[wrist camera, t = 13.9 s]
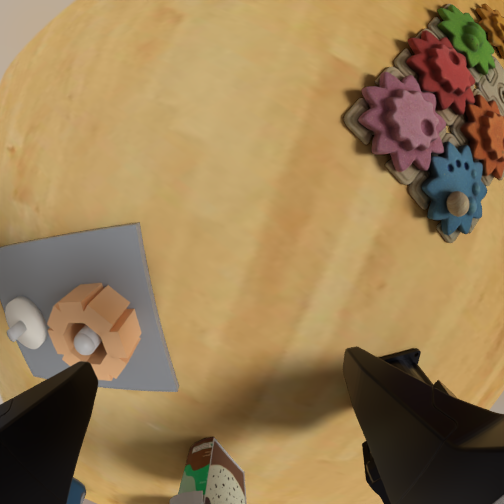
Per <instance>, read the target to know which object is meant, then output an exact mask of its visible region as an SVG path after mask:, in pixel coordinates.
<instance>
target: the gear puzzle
mask: <svg viewBox="0 0 504 504" xmlns="http://www.w3.org/2000/svg"><path fill="white" fill-rule="evenodd" d="M437 11H438V13H439V15H440V16H441V18H442V19H443V21H442V22H441V21H440V19H439V18H438V17H435V18H433V19H432V21H431V22H430V23H429V24H428V29H423V30H422V31H421V32H420V33H419V34H418V35H417V36H416V37H415V38H410V39H408V44H409V46H410V48H411V49H412V51H413V52H414V54H415V55H413V56H412V55H411V53H410V51H409V50H408V49H404V50H403V51H402V52H401V53H400V55H399V56H398V57H397V58H396V59H395V60H394V66H395V67H388V68H387V69H385V70H384V71H383V72H382V73H381V74H380V76H379V77H378V78H377V79H376V80H375V83H376V84H377V85H379V86H380V87H376V86H369V87H365V88H363V89H362V95H363V96H364V98H365V100H366V101H365V100H364V99H363V98H360V99H358V100H357V102H356V103H355V104H354V105H353V106H352V107H351V108H350V109H349V110H348V112H347V113H346V114H345V116H344V122H345V124H346V126H347V127H348V128H349V130H350V131H352V132H353V133H354V134H355V135H356V136H357V137H358V138H359V139H360V140H361V141H362V142H363V143H364V144H368V143H369V142H370V139H371V136H372V134H374V138H373V140H372V153H373V154H388V153H390V155H391V158H392V159H391V160H389V161H388V162H386V163H385V166H386V167H387V168H388V170H389V171H390V172H391V173H392V174H393V175H394V176H395V177H396V179H397V180H398V181H399V182H400V183H402V184H405V185H408V184H409V193H410V195H411V196H412V197H413V199H414V200H415V201H416V202H417V204H418V205H419V206H420V207H421V208H422V209H427V207H428V204H429V202H430V200H431V204H430V207H429V210H428V216H427V217H428V218H429V219H433V220H441V222H440V223H439V224H438V225H437V227H436V228H437V230H438V231H439V233H440V234H441V235H442V237H443V238H444V240H445V241H446V242H448V243H453V242H454V241H455V240H456V238H457V237H458V235H459V234H460V232H461V233H464V234H467V233H471V232H472V230H473V229H474V227H475V225H476V224H477V222H478V221H479V219H480V218H481V217H482V206H481V200H482V199H483V198H484V197H485V195H486V193H487V188H486V186H489V185H490V183H491V182H492V180H493V178H494V177H495V178H498V179H499V180H502V179H503V177H504V98H503V96H502V93H503V94H504V69H503V68H502V66H501V65H500V63H499V62H498V60H497V59H496V58H495V57H492V54H493V53H494V49H493V47H492V46H491V45H493V46H496V47H497V48H498V50H499V52H500V55H501V57H502V58H503V59H504V17H502V16H501V15H500V13H499V12H498V11H497V10H492V9H491V8H490V7H489V6H488V5H487V4H482V8H477V9H476V11H477V13H478V14H479V16H480V17H481V19H482V20H481V21H479V24H477V23H475V22H474V20H473V18H472V17H471V16H470V14H469V13H464V14H463V13H462V12H461V11H460V10H459V9H457V8H456V7H455V6H453V5H451V4H447V5H446V6H445V7H444V8H440V9H438V10H437ZM481 27H482V28H483V29H484V30H485V31H486V32H487V33H488V41H489V42H488V41H487V40H486V33H485V31H484V30H483V29H482V28H481ZM475 83H476V86H477V89H474V84H475ZM366 102H367V103H368V104H369V106H370V108H369V107H368V106H367V103H366ZM449 125H450V131H451V134H450V133H446V127H445V126H449Z"/></svg>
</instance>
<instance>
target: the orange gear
mask: <svg viewBox="0 0 504 504" xmlns="http://www.w3.org/2000/svg"><path fill="white" fill-rule="evenodd" d="M129 304H130V302H129V301H128V300H126V299H125V298H124V297H123V296H121V295H120V294H119V293H117V292H116V291H115V290H114V289H112V288H111V287H110V286H109V285H108V286H107V287H105V288H104V289H103V285H102V283H92V284H80V285H79V286H78V287H76V288H75V289H73V290H72V291H71V292H70V293H68V294H67V295H66V296H65V297H63V298H62V299H61V300H60V301H59V302H57V303H56V304H55V305H54V306H53V309H52V311H51V314H50V317H49V320H48V322H47V325H48V326H49V327H50V328H49V329H48V330H47V331H48V333H49V335H50V338H51V340H52V343H53V345H54V347H55V349H56V352H57V354H63V355H64V356H63V358H62V360H63V361H64V362H66V363H67V364H68V365H69V366H72V365H74V364H76V363H77V362H79V361H85V362H89V363H90V364H91V365H92V367H93V370H94V372H95V374H96V376H97V378H98V380H106V381H112V379H113V377H114V378H115V379H117V377H118V376H119V375H120V373H121V372H122V370H123V369H124V368H125V366H126V365H127V363H128V362H129V360H130V358H131V356H132V354H133V352H134V350H135V349H136V347H137V345H138V343H139V341H140V339H141V338H140V335H141V333H142V332H141V329H140V326H139V322H138V319H137V316H136V312H135V309H126V308H127V307H128V305H129ZM85 324H86V325H87V326H88V327H89V328H91V329H92V330H93V331H94V332H96V333H97V334H98V335H99V336H100V337H101V339H102V341H101V343H100V344H99V345H98V347H97V348H96V349H95V351H94V352H93V353H92V354H90V355H81V354H80V353H78V352H77V351H76V349H75V347H74V338H75V336H76V335H77V333H78V332H79V331H80V330H81V329H82V328H83V327H84V326H85Z"/></svg>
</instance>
